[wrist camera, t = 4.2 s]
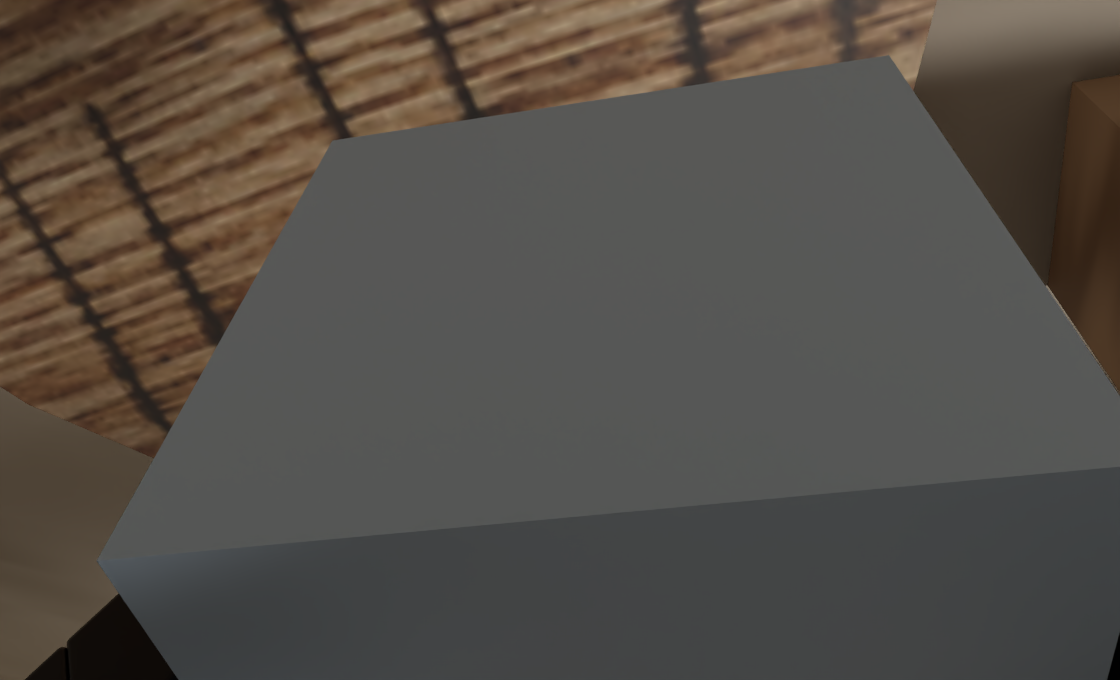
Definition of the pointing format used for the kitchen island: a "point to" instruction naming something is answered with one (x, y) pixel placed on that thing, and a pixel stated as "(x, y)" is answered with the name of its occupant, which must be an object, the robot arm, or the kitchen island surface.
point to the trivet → (289, 145)
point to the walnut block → (1091, 220)
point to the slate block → (641, 413)
